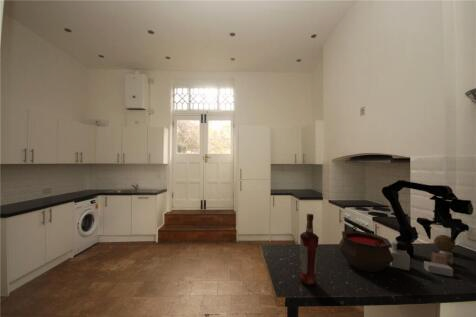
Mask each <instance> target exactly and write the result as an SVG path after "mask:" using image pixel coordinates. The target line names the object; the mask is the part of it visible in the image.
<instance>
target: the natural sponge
mask: <svg viewBox="0 0 476 317" xmlns="http://www.w3.org/2000/svg"><path fill="white" fill-rule="evenodd" d="M433 245H434V246H435V247H436V248H438V249H440V251H446V252H449V253H451V252H452V251H453V250H454V248H455V246H456V240H455V241H454V242H451V236H449V235H446V234H439V235H437V236H436V237H435V238H434V239H433Z"/></svg>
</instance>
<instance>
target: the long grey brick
mask: <svg viewBox="0 0 476 317" xmlns="http://www.w3.org/2000/svg"><path fill="white" fill-rule="evenodd" d="M423 268H424V269H425V271H426V272H428V273H432V274H435V275H436V274H437V275H442V276H448V277H454V269H453V268H452V267H451V266H449V264H447V265H444V264H438V263H432V262H431V261H425V260H424V261H423Z"/></svg>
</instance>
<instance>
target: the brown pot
mask: <svg viewBox="0 0 476 317" xmlns="http://www.w3.org/2000/svg"><path fill="white" fill-rule="evenodd" d="M357 229H358V228H357V227H356V226H355V225H353V226H352V227H351V230H343V231H341V235H342V238H341V240H340V241H339V250H340V252H341V253H342V255H343V257H344V258H345V260H346V262H347V263H348V265H350V266H352V267H354V268H355V269H356V270H358V271H359V270H360V271H363V272H367V273H371V272H372V273H373V272H374V273H377V272H378V273H379V272H382V271H383V270H384V269H385V268H386V267H387V266H389V265H390V263H391V262H392V261H393V260H394V259H393V257H392V254H391V252H390V250H389V248H390V246H391V247H392V242H390V241H389V238H386V237H383V236H381V235H377V234H375V233H372V232H366V231H360V230H359V231H358V230H357Z"/></svg>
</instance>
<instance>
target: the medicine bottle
mask: <svg viewBox="0 0 476 317" xmlns="http://www.w3.org/2000/svg"><path fill="white" fill-rule="evenodd" d="M388 248H389V250H390V252H391V254H392V257H393V259H394V260H393V261H392V262H391V263H390V264H389V266H391V267H392V268H396V269H399V270H406V271H410V266H411V264H410V262H411V256H410V255H409V254H408V253H407V244H406V243H404V242H402V241H397V240H396V239H395V240H392V241H391V247H388Z"/></svg>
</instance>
